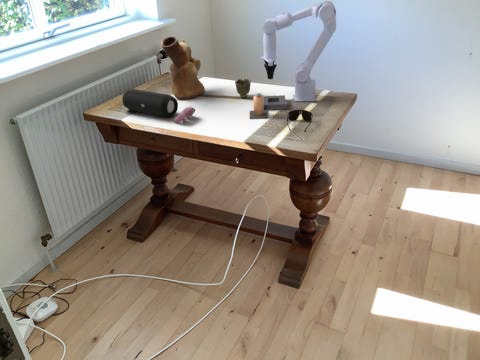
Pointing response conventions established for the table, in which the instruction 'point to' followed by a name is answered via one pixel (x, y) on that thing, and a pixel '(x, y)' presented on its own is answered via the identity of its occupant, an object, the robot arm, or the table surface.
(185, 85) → the ceramic vessel
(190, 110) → the pink elongated curved piece
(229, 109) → the table surface
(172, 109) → the portable speaker
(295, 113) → the sunglasses
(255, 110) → the tapered peach cylinder
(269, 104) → the housing
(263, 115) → the mat
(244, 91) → the cup
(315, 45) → the robot arm
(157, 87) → the table surface
